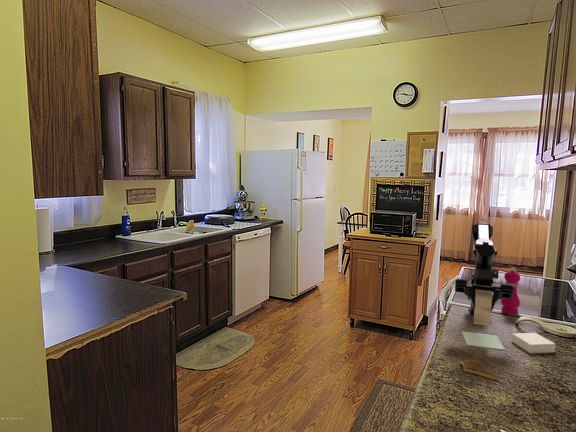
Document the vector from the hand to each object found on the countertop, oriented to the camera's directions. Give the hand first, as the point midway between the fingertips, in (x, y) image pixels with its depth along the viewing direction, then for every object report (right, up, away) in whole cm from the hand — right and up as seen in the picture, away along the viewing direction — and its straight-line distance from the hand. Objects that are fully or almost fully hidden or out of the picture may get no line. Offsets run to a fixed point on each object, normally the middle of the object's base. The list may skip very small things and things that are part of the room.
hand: (482, 309), depth 131 cm
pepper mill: (+29, -10, +34) cm, 46 cm away
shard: (-9, -15, -16) cm, 24 cm away
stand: (+17, -13, 0) cm, 22 cm away
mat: (+2, -12, +4) cm, 13 cm away
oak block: (+1, -5, +2) cm, 5 cm away
